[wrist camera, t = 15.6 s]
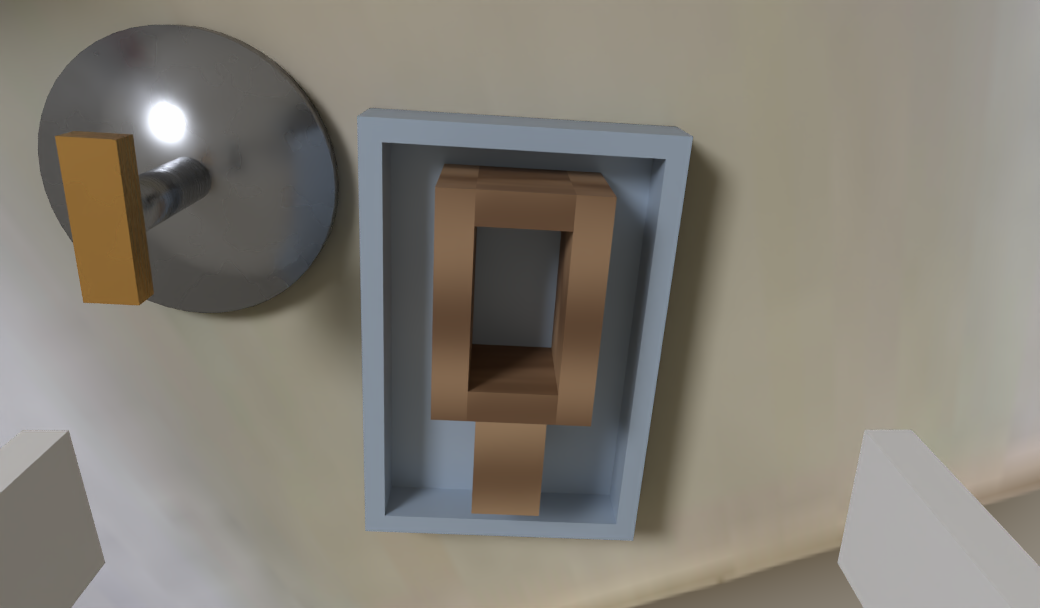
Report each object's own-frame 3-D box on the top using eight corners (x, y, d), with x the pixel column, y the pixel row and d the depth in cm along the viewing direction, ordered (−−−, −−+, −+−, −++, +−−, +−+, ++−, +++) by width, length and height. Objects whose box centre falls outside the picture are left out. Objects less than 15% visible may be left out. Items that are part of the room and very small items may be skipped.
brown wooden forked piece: (444, 163, 33) (434, 187, 28) (600, 172, 33) (616, 197, 29) (437, 452, 39) (429, 511, 34) (571, 457, 39) (580, 517, 34)
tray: (677, 126, 33) (692, 136, 30) (624, 504, 41) (633, 540, 38) (369, 108, 32) (357, 116, 30) (375, 495, 40) (365, 530, 37)
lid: (334, 34, 31) (275, 39, 23) (342, 311, 36) (295, 396, 28) (26, 14, 31) (-145, 12, 23) (76, 298, 35) (-51, 380, 27)
